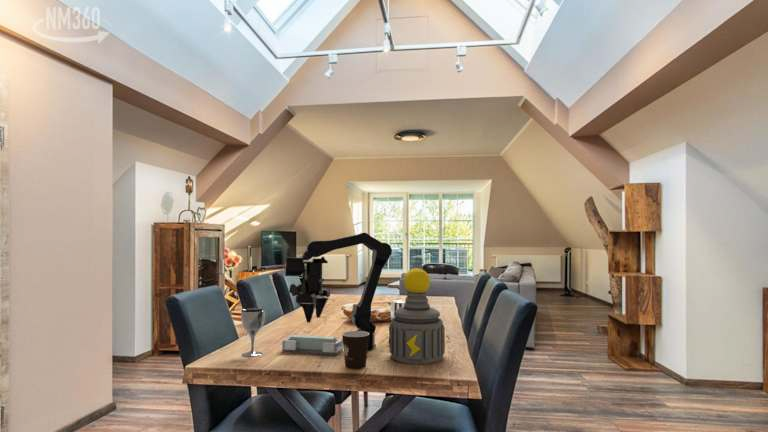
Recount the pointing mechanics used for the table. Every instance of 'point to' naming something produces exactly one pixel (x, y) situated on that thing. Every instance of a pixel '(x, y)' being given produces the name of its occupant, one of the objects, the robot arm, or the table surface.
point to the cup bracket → (328, 349)
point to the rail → (311, 341)
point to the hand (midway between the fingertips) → (313, 319)
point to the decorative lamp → (417, 325)
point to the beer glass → (396, 306)
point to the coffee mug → (355, 349)
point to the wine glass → (252, 326)
